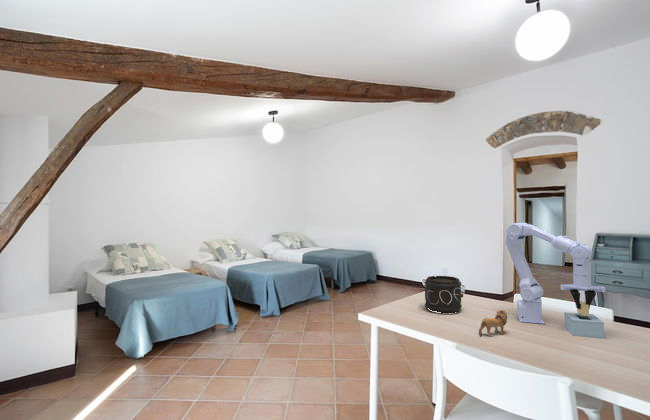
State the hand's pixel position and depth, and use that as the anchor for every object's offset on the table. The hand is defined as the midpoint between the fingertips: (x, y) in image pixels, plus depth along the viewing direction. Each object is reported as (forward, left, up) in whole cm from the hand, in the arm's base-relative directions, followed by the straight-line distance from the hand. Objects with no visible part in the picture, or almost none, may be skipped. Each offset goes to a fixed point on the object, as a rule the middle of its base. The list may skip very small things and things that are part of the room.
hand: (582, 308), depth 138 cm
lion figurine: (-34, -13, -10) cm, 37 cm away
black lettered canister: (-53, +16, -10) cm, 57 cm away
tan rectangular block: (0, 0, -2) cm, 2 cm away
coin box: (0, 0, -9) cm, 9 cm away
